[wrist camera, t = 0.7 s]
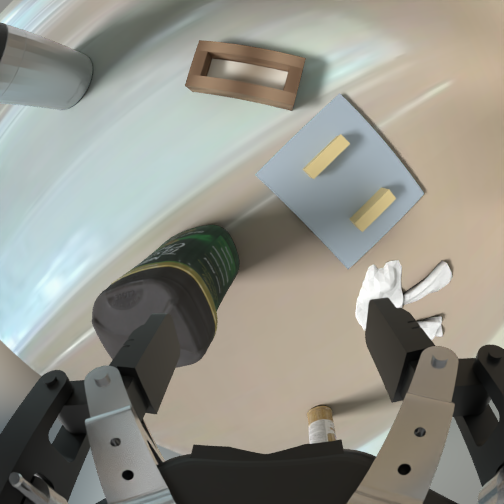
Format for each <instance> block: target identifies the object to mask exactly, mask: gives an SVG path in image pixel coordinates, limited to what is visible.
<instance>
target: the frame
mask: <svg viewBox="0 0 504 504" xmlns="http://www.w3.org/2000/svg"><path fill="white" fill-rule="evenodd" d="M305 59H306V58H302V57H299V56H295V55H290V54H286V53H282V52H277V51H272V50H267V49H262V48H257V47H251V46H245V45H238V44H230V43H222V42H213V41H201V40H199V43H198V46H197V49H196V52H195V55H194V58H193V61H192V64H191V67H190V70H189V74H188V77H187V80H186V84H185V86H186V87H187V88H189V89H190V90H191V91H192V92H199V93H206V94H213V95H219V96H225V97H231V98H237V99H242V100H247V101H252V102H257V103H261V104H266V105H270V106H274V107H278V108H283V109H286V110H290V111H292V109H293V106H294V102H295V98H296V94H297V90H298V86H299V83H300V79H301V75H302V71H303V67H304V63H305Z"/></svg>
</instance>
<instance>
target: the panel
mask: <svg viewBox="0 0 504 504" xmlns="http://www.w3.org/2000/svg"><path fill="white" fill-rule="evenodd" d="M255 175H256V176H257V177H258V178H259V179H260V180H261V181H262V182H263V183H264V184H265V185H266V186H267V187H268V188H269V189H270V190H271V191H272V192H273V193H275V194H276V195H277V196H278V197H279V198H280V199H281V200H282V201H283V202H284V203H285V204H286V205H287V206H288V207H289V208H290V209H291V210H292V211H293V212H294V213H295V214H296V215H297V216H298V217H299V218H300V219H301V220H302V221H303V222H304V223H305V224H306V225H307V226H308V227H309V228H310V230H311V231H312V232H313V233H314V234H315V235H316V236H317V237H318V238H319V239H320V240H321V241H322V242H323V243H324V244H325V245H326V246H327V247H328V248H329V249H330V250H331V251H332V253H333V254H334V255H335V256H336V257H337V258H338V259H339V260H340V261H341V262H342V263H343V264H344V265H345V267H346V268H347V269H349V268H350V267H351V266H352V265H354V264H355V263H356V262H357V261H358V260H359V259H360V258H361V257H362V256H363V255H364V254H365V253H366V252H367V251H368V250H369V249H370V248H372V247H373V246H374V245H375V244H376V243H377V242H378V241H379V240H380V239H381V238H382V237H383V236H384V235H385V234H386V233H387V232H388V231H389V230H390V229H391V228H392V227H393V226H394V225H395V224H396V223H397V222H398V221H399V220H400V219H401V218H402V217H403V216H404V215H405V214H406V213H407V212H408V211H409V209H410V208H411V207H412V206H413V205H414V204H415V203H416V202H417V201H418V200H419V199H420V198H421V197H422V196H423V195H424V192H423V191H422V190H421V188H420V187H419V185H418V184H417V182H416V181H415V180H414V178H413V177H412V176H411V174H410V173H409V172H408V170H407V169H406V168H405V166H404V165H403V164H402V162H401V161H400V160H399V159H398V157H397V156H396V155H395V154H394V152H393V151H392V150H391V149H390V147H389V146H388V145H387V144H386V143H385V141H384V140H383V139H382V138H381V137H380V136H379V134H378V133H377V132H376V131H375V130H374V129H373V128H372V126H371V125H370V124H369V123H368V122H367V121H366V120H365V119H364V118H363V117H362V116H361V114H360V113H359V112H358V111H357V110H356V109H355V108H354V107H353V106H352V105H351V104H350V103H349V102H348V101H347V100H346V99H345V98H344V97H343V96H342V95H341V94H338V95H337V96H336V97H335V98H334V99H333V100H332V101H331V102H330V103H329V104H327V105H326V106H325V107H324V108H323V109H322V110H321V111H320V112H319V113H318V114H317V115H316V116H315V117H313V118H312V119H311V120H310V121H309V122H308V123H307V124H306V125H305V126H304V127H303V128H302V129H301V130H300V131H299V132H298V133H297V134H296V135H295V136H294V137H292V138H291V139H290V140H289V141H288V142H287V143H286V144H285V145H284V146H283V147H282V148H281V149H280V150H279V151H278V152H277V153H276V154H275V155H274V156H273V157H272V158H271V159H270V160H269V161H268V162H267V163H266V164H265V165H264V166H263V167H262V168H261V169H260V170H259V171H258V172H257V173H256V174H255Z"/></svg>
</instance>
